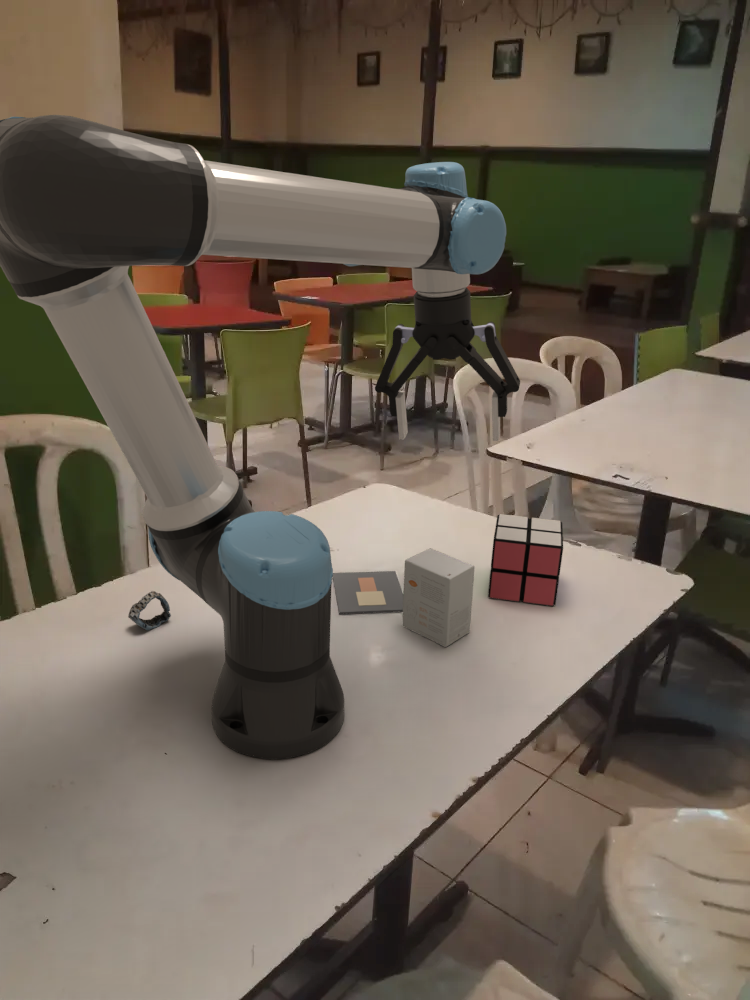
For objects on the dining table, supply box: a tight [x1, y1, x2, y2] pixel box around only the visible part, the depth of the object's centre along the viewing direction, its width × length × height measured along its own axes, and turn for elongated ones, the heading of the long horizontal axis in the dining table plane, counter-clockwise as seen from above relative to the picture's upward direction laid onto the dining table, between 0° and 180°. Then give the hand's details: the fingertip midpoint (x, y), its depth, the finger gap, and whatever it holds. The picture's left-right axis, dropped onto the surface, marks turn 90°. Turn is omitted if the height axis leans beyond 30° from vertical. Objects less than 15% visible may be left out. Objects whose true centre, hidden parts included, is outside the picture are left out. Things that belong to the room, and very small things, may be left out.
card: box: [332, 570, 403, 615], centre depth 118 cm, size 10×12×1 cm
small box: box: [401, 548, 476, 648], centre depth 107 cm, size 8×6×10 cm
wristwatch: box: [128, 590, 172, 631], centre depth 107 cm, size 3×5×5 cm
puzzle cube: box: [487, 513, 564, 607], centre depth 119 cm, size 10×10×10 cm
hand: (449, 436), depth 114 cm, fingers open, 13 cm apart
